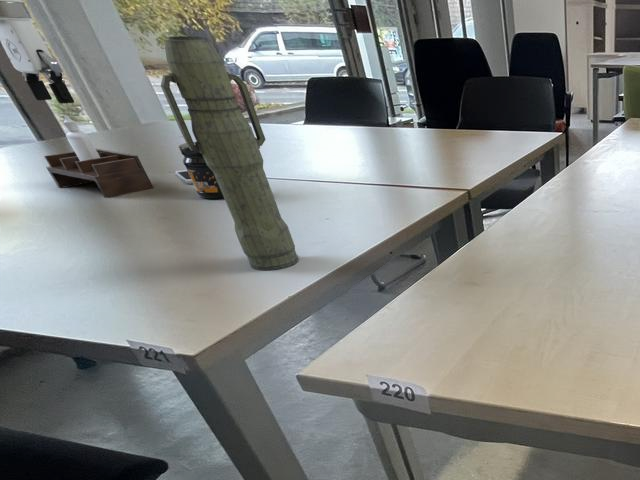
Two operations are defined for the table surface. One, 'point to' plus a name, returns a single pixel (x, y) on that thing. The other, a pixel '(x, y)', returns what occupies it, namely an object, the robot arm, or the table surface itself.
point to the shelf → (100, 172)
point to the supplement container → (200, 173)
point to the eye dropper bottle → (79, 141)
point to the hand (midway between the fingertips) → (55, 101)
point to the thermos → (228, 147)
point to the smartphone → (184, 176)
